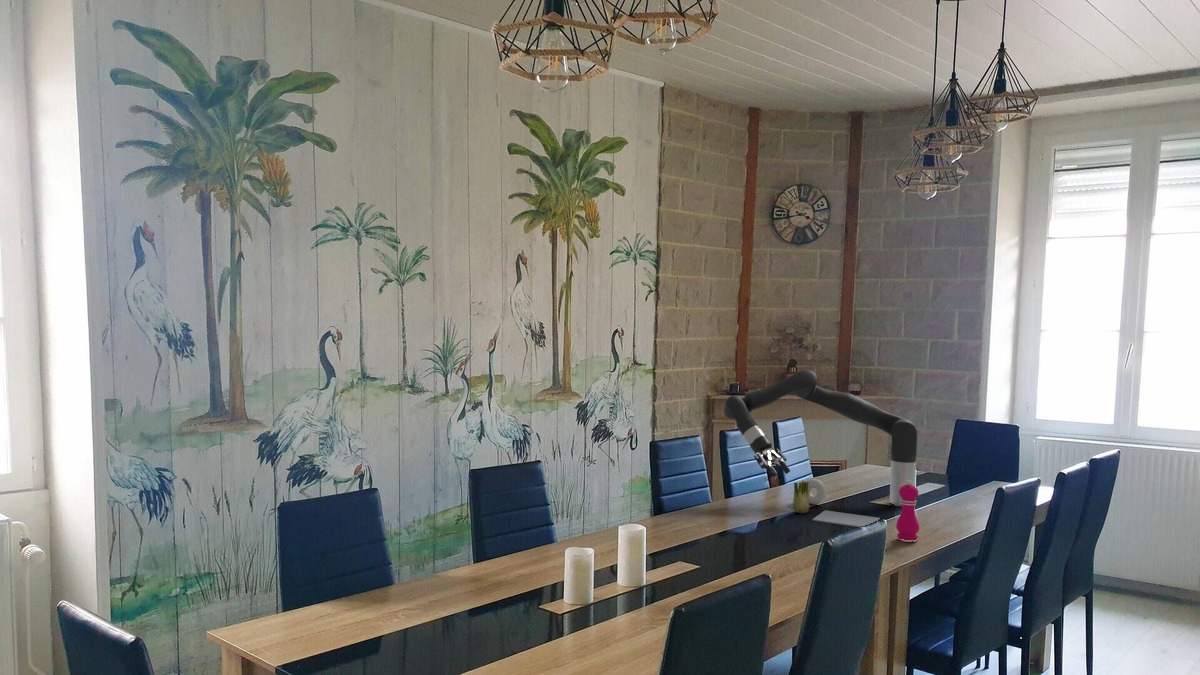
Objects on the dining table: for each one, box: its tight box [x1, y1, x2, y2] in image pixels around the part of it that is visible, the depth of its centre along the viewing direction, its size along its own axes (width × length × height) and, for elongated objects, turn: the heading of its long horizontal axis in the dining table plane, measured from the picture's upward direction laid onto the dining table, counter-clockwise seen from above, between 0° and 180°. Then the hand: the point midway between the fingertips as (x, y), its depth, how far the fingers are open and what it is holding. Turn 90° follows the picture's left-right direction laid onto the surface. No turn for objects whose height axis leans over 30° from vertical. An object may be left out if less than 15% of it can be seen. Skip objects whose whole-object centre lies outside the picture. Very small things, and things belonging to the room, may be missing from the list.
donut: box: [806, 478, 827, 506], centre depth 327 cm, size 10×4×10 cm, turn 47°
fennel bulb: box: [792, 480, 810, 514], centre depth 313 cm, size 6×5×12 cm
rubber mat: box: [812, 509, 881, 528], centre depth 304 cm, size 16×20×1 cm
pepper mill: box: [895, 480, 920, 540], centre depth 278 cm, size 7×7×20 cm
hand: (781, 474), depth 318 cm, fingers open, 8 cm apart
